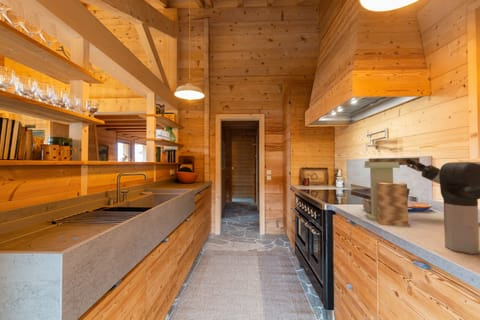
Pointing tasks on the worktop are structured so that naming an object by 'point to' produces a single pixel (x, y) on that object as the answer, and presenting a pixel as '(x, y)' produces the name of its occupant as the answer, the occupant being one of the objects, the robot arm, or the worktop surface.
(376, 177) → the t-shaped pedestal stand
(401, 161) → the walnut rod
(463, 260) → the worktop surface
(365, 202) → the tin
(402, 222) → the block
